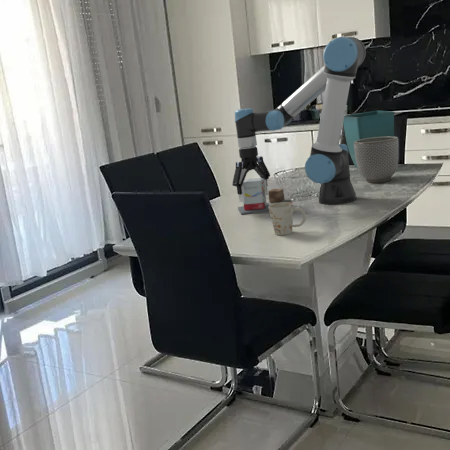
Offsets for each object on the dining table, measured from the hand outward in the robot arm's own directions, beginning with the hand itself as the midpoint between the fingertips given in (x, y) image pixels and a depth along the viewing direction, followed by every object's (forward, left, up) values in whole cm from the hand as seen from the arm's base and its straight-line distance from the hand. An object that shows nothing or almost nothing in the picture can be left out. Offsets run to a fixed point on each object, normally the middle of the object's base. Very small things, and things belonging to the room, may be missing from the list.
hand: (253, 198), depth 259 cm
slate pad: (0, 0, -5) cm, 5 cm away
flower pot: (+3, -91, -5) cm, 91 cm away
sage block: (+9, -7, -5) cm, 12 cm away
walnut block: (+2, -16, -5) cm, 17 cm away
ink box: (0, 0, -4) cm, 4 cm away
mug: (-39, +24, -5) cm, 46 cm away
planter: (-19, -63, -5) cm, 66 cm away
